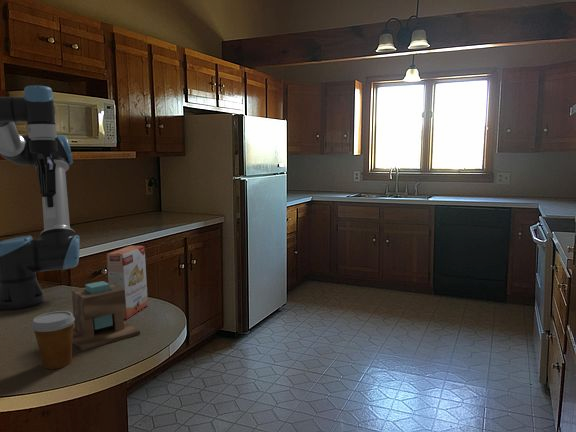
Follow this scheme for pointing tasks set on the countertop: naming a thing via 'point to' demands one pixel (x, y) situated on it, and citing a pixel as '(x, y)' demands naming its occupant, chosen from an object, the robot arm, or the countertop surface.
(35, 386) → the countertop surface
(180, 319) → the countertop surface
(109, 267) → the cracker box
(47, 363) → the disposable coffee cup
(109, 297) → the chute
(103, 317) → the block
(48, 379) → the countertop surface
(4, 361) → the countertop surface
